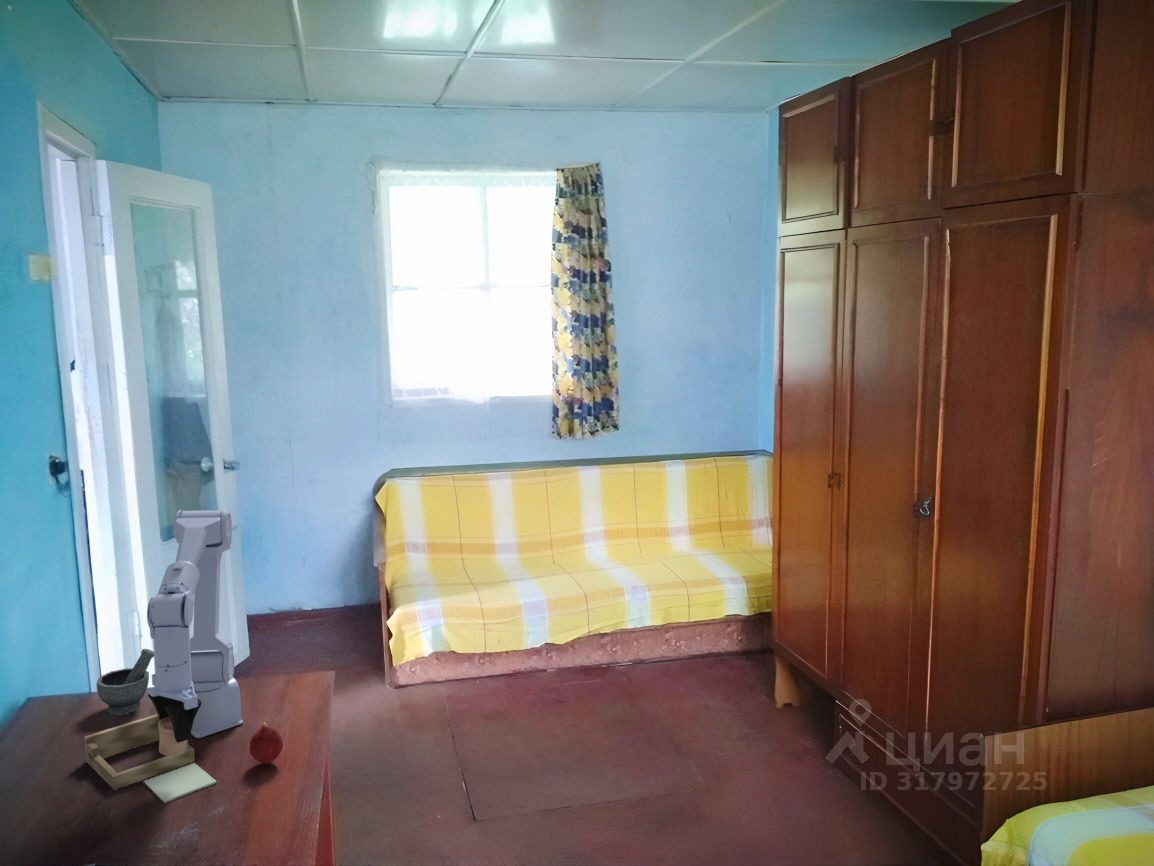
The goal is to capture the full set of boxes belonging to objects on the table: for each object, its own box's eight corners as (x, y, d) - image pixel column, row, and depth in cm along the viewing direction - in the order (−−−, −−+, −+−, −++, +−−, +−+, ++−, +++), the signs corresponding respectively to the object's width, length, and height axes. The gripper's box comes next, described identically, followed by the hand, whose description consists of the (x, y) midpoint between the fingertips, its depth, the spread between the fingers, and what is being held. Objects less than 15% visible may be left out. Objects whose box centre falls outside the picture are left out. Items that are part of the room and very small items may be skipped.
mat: (194, 764, 162) (194, 762, 162) (216, 783, 156) (216, 780, 156) (143, 783, 155) (143, 781, 155) (164, 802, 149) (164, 800, 149)
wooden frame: (163, 736, 172) (162, 712, 172) (194, 761, 163) (193, 736, 162) (85, 762, 162) (84, 736, 161) (114, 790, 153) (112, 763, 152)
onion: (290, 760, 164) (288, 720, 163) (267, 774, 159) (265, 733, 158) (266, 753, 166) (265, 713, 165) (243, 767, 161) (241, 726, 160)
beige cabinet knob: (182, 737, 158) (183, 712, 158) (193, 750, 155) (194, 724, 154) (152, 746, 155) (153, 720, 154) (163, 759, 151) (164, 733, 150)
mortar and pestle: (102, 723, 177) (99, 666, 176) (94, 706, 185) (91, 651, 183) (162, 709, 184) (159, 654, 183) (152, 693, 192) (149, 640, 190)
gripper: (132, 655, 155) (136, 728, 157) (166, 679, 145) (169, 757, 147) (173, 645, 160) (176, 716, 162) (208, 667, 150) (211, 742, 152)
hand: (176, 734), depth 155 cm, fingers closed on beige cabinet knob, 5 cm apart
